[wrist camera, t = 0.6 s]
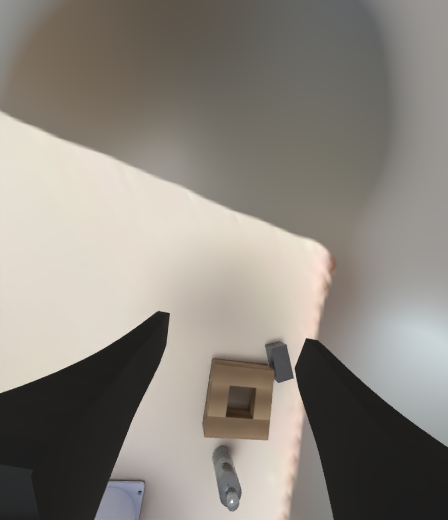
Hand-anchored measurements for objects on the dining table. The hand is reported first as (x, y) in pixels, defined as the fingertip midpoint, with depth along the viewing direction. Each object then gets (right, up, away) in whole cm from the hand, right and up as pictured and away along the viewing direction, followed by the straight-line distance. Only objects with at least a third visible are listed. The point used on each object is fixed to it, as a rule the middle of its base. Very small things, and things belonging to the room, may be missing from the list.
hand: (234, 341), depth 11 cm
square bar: (+8, -12, +24) cm, 28 cm away
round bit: (-1, -24, +19) cm, 31 cm away
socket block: (+1, -16, +21) cm, 27 cm away
